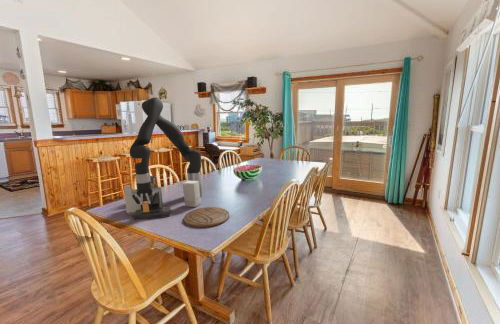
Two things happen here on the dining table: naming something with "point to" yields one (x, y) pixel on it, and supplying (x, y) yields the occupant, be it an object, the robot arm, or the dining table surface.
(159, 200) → the dark grey stand
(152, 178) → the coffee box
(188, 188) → the skincare box
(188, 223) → the trivet
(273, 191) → the dining table surface
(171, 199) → the dining table surface
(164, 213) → the console
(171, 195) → the dining table surface
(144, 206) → the fader
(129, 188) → the sliding door
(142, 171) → the robot arm
